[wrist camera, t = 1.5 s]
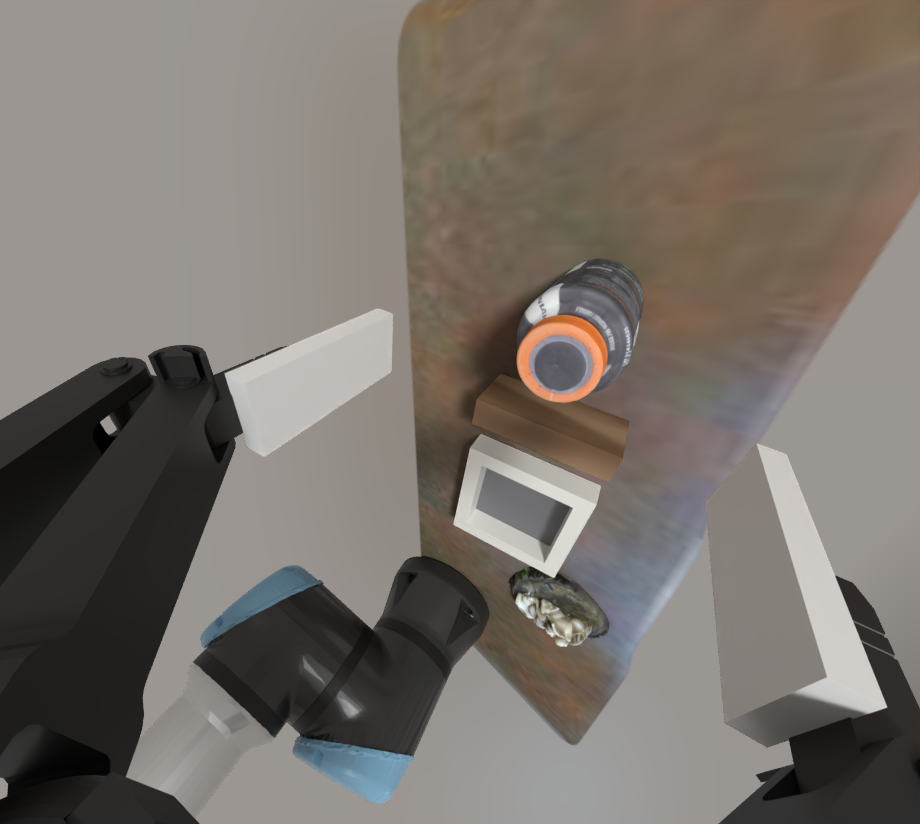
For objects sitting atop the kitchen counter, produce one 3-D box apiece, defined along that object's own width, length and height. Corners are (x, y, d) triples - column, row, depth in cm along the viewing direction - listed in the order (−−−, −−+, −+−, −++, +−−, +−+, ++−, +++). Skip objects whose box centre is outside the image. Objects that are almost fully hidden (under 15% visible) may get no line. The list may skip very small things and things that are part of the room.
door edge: (616, 444, 29) (608, 482, 25) (495, 395, 32) (471, 423, 28) (629, 421, 28) (622, 458, 24) (500, 373, 31) (476, 399, 27)
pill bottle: (544, 274, 25) (479, 319, 17) (635, 243, 22) (612, 279, 13) (565, 352, 27) (516, 427, 19) (651, 334, 24) (640, 415, 15)
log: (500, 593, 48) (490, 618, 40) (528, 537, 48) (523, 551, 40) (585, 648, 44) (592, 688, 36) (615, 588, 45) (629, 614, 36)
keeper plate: (559, 559, 39) (554, 578, 37) (463, 509, 42) (453, 524, 40) (601, 486, 32) (596, 504, 30) (480, 433, 35) (470, 447, 33)
